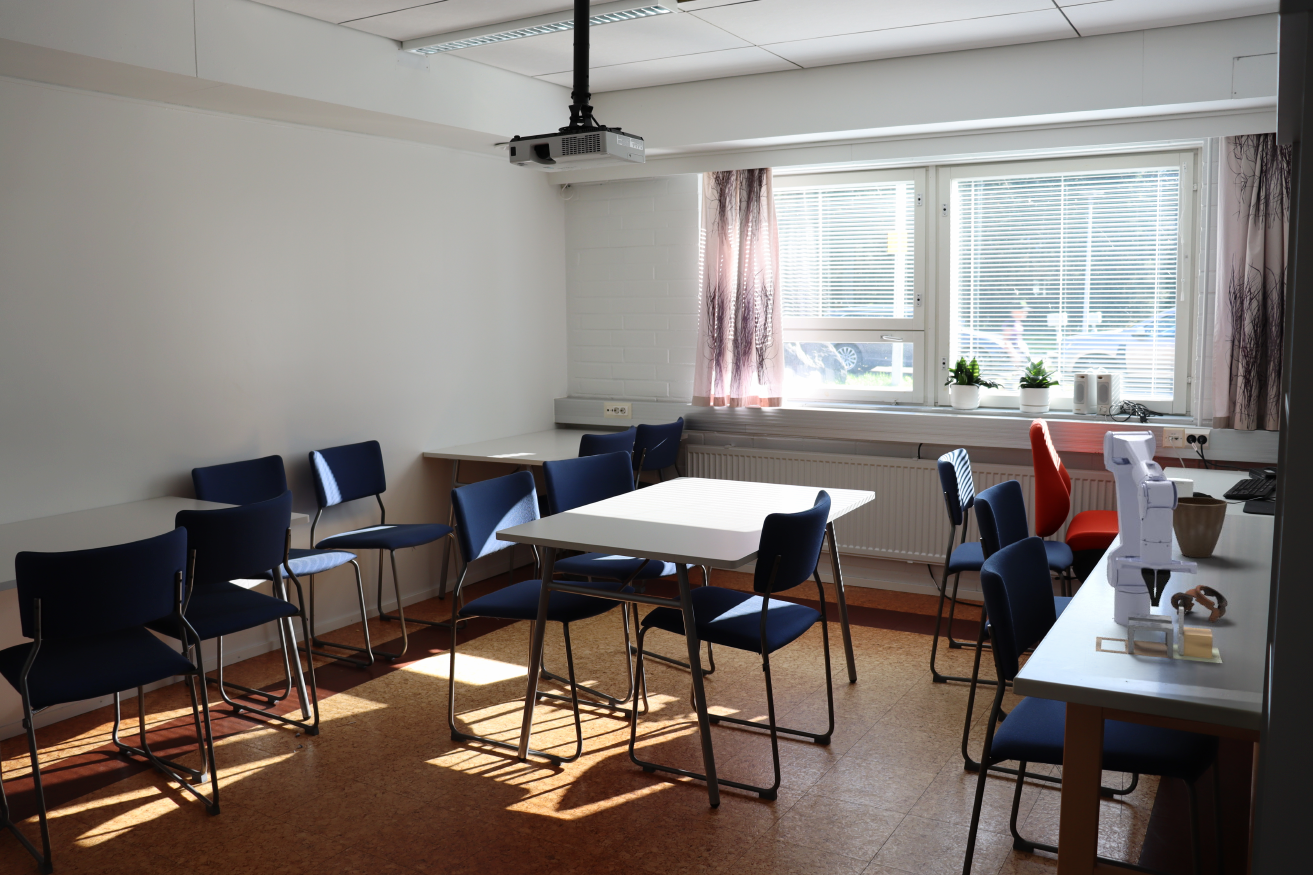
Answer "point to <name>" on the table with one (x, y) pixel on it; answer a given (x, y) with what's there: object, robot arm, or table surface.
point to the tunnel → (1150, 628)
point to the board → (1157, 650)
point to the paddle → (1181, 631)
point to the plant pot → (1198, 524)
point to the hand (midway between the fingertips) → (1154, 605)
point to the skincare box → (1183, 487)
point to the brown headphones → (1200, 601)
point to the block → (1198, 642)
